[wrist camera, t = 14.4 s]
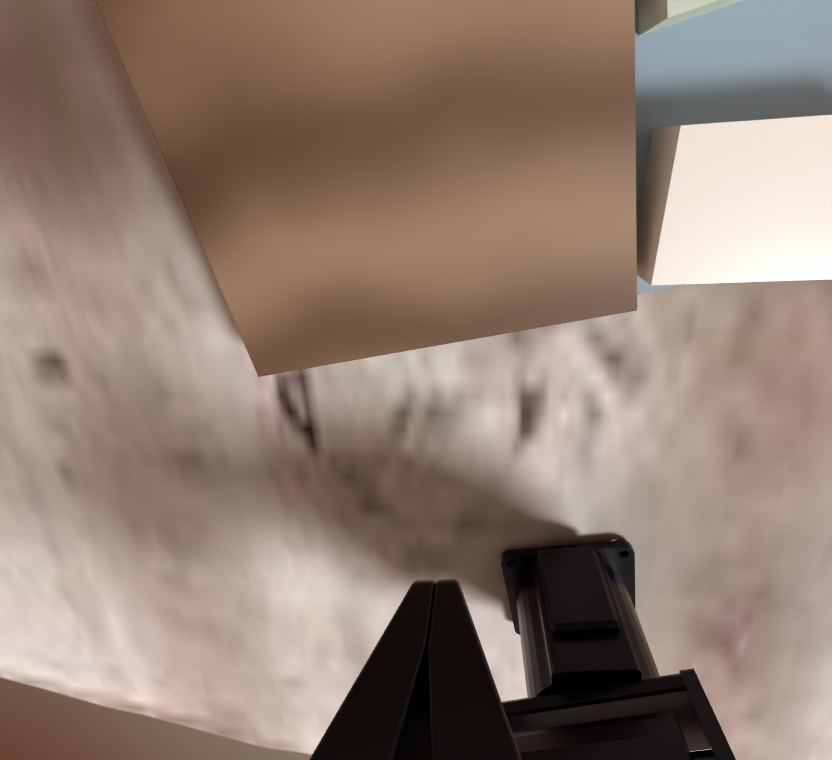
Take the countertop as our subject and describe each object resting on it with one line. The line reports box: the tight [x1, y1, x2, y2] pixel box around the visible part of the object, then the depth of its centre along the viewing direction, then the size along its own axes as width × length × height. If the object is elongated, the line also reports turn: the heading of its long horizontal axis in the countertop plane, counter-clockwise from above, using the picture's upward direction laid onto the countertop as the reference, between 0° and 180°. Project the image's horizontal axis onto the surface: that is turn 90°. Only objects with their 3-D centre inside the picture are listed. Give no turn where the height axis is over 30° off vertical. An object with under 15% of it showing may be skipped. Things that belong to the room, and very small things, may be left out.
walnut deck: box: [95, 0, 637, 377], centre depth 14 cm, size 13×14×2 cm
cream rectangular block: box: [636, 115, 832, 285], centre depth 14 cm, size 4×6×2 cm
